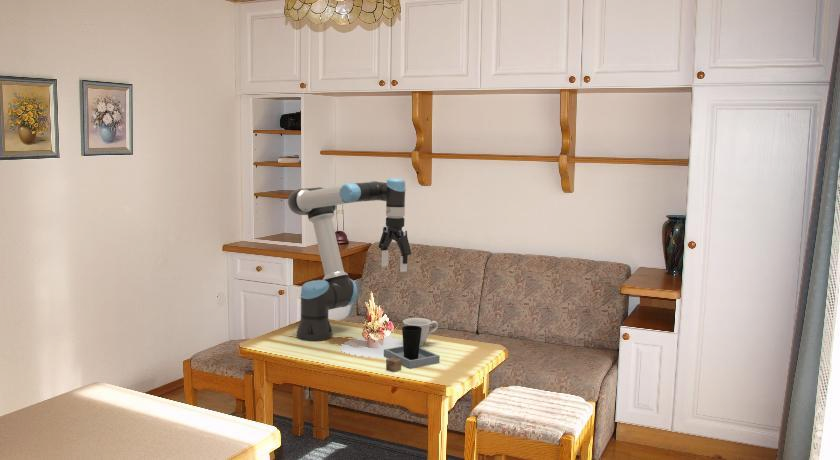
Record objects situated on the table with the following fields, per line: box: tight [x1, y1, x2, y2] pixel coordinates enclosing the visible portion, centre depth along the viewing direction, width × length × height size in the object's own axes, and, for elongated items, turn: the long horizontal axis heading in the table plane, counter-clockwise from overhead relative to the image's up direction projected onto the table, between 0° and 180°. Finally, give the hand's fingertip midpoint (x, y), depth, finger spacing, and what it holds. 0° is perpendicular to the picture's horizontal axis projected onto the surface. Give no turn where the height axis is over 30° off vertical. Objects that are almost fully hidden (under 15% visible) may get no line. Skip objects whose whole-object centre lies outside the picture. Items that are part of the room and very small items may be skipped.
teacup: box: [402, 317, 439, 347], centre depth 321 cm, size 12×15×10 cm
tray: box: [383, 345, 440, 369], centre depth 300 cm, size 18×14×3 cm
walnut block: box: [385, 358, 402, 373], centre depth 287 cm, size 4×4×4 cm
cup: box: [401, 325, 422, 360], centre depth 300 cm, size 8×8×12 cm
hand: (393, 268), depth 312 cm, fingers open, 13 cm apart
